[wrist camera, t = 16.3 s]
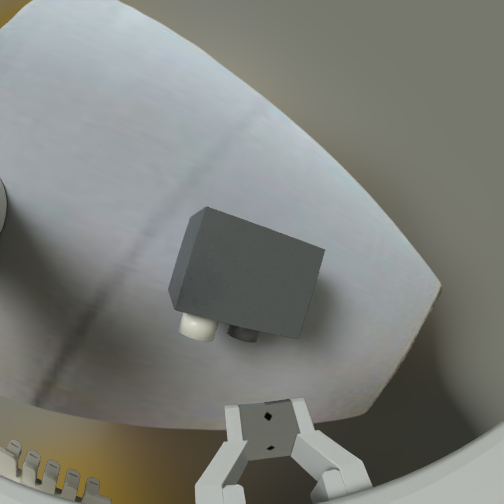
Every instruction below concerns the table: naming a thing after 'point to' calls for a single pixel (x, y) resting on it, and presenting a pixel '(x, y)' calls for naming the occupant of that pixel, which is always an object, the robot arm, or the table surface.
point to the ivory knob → (198, 327)
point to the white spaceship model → (47, 476)
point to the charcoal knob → (243, 333)
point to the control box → (244, 274)
